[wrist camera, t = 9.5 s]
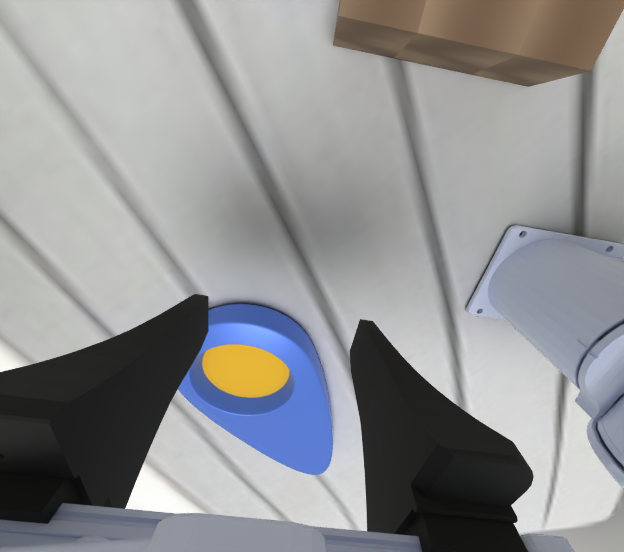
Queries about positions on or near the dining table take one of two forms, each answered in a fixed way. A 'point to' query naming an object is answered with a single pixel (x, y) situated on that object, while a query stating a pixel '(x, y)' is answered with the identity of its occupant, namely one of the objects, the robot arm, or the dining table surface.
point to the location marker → (264, 385)
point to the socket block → (483, 34)
